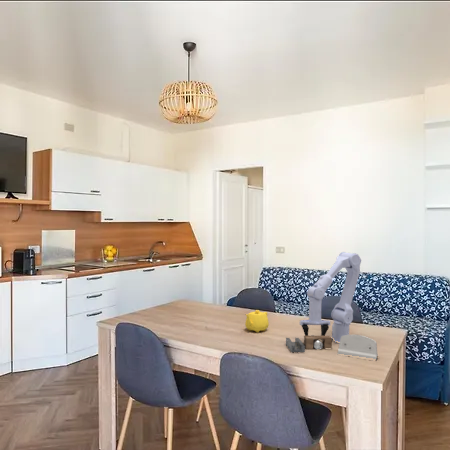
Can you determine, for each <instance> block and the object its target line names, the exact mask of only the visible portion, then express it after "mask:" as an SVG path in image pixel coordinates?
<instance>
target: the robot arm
mask: <svg viewBox="0 0 450 450" xmlns="http://www.w3.org/2000/svg"><path fill="white" fill-rule="evenodd" d="M361 263H362V259H361V257H360V255H359V254H358V253H355V252H354V253H353V252H352V253H351V252H346V251H342V252H339V254H338V255H337V257H336V261H335V262H334V263H333V264H332V265H331V267H330V268H329V270H328V272H326V274H322V275H320V276H319V279H318V280H317V281H316V282H315V283H314V284H313V285H312V286H310V287H309V288H308V289H307V291H306V295H307V297H308V300H309V301H308V303H309V305H308V306H309V307H308V308H309V309H308V319H301V320H299V325H300V326H301V328H302V331H303V333H304V336H309V329H310V328H309V326H320V330H321V331H320V336H326V334H327V332H328V330H329V328H330V327H329V326H331V327H332V328H331V330H332V331H331V337H333V338H334V340H335V343H336V341H338V342H340V339H341V337H342V336H344V335H350V325H351V323H352V322H353V320H354V316H353V315H354V309H353V308H352V306H351V305H352V301H353V299H354V294H355V291H356V287H357V284H358V279H359V277H360V273H361ZM342 269H345V270H346V271H347V275H346V276H345V281H344V285H343V289H342V291H341V295H340V298H339V299H340V300H339V302H337V303H336V304H334V308H333V309H332V311H331V313H330V316H331V318H332V320H333V323H332V325H331V320H326V319H325V320H324V319H323V320H322V304H323V303H322V302H323V301H322V300H323V299H324V297H325V293H326V291H327V290H328V288H329V287H330V286H331V284H333V279H334V278H335V276H336V275H337V274H338V273H339V272H341V270H342ZM333 338H332V339H333ZM320 341H322V339H320Z"/></svg>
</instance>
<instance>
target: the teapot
mask: <svg viewBox="0 0 450 450" xmlns="http://www.w3.org/2000/svg"><path fill="white" fill-rule="evenodd" d="M245 316H246V319H245V328H246V329H248V331H250V332H251V331H255V333H256V334H257V333H260V331H262V332H265V330H267V329H268V328H269V325H270V324H269V323H270V321H269V318H268V312H267V311H260V310H259V309H256V310H255V311H251V312H249V313H247V314H245Z"/></svg>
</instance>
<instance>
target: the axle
mask: <svg viewBox="0 0 450 450" xmlns="http://www.w3.org/2000/svg"><path fill="white" fill-rule="evenodd" d="M310 336H315V335H314V334H310ZM321 341H322V340H321V339H313V349H315V350H317V349H321V350H322V349H324V348H323V344H322V342H321Z"/></svg>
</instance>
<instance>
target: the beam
mask: <svg viewBox="0 0 450 450" xmlns="http://www.w3.org/2000/svg"><path fill="white" fill-rule="evenodd" d="M331 337H332V336H330V335H325V336H321V335H314V336H311V335H308V336H305V335H303V344H304V345H305V350H314V346H313V339H319V340H321V339H322V340H321V341H322V344H323V347H324V348H332V349H333V340H332V338H331ZM324 348H323V349H324Z"/></svg>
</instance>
